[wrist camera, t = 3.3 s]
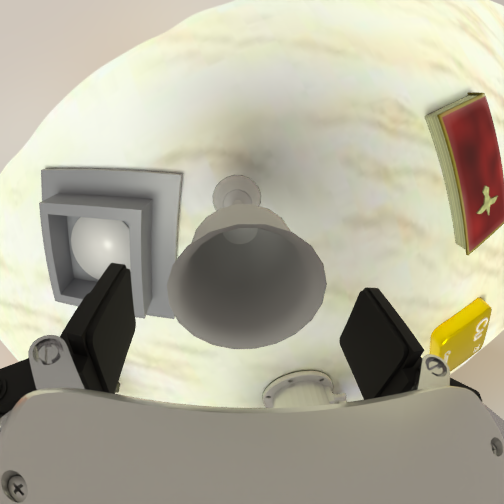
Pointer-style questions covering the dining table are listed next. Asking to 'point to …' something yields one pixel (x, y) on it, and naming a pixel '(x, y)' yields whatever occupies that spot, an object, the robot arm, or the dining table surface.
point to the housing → (111, 231)
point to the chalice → (245, 274)
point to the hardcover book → (470, 168)
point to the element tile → (461, 334)
